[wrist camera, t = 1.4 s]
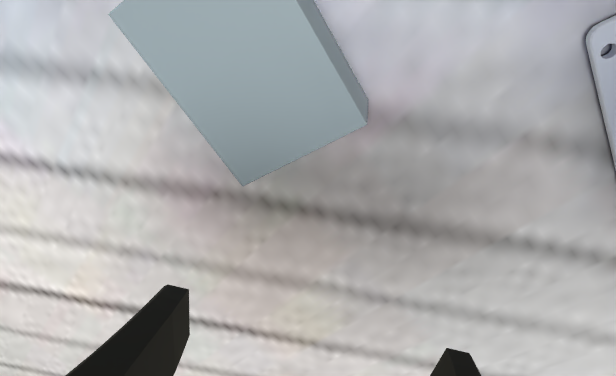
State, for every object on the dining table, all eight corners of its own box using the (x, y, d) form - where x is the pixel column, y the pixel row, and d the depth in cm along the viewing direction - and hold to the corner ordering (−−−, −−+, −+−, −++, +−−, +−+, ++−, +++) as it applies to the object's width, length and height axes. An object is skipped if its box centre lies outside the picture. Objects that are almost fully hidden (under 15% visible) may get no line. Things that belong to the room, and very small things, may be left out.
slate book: (368, 97, 17) (367, 124, 14) (259, 154, 19) (242, 186, 17) (263, -93, 14) (239, -101, 11) (149, 2, 16) (108, 14, 14)
